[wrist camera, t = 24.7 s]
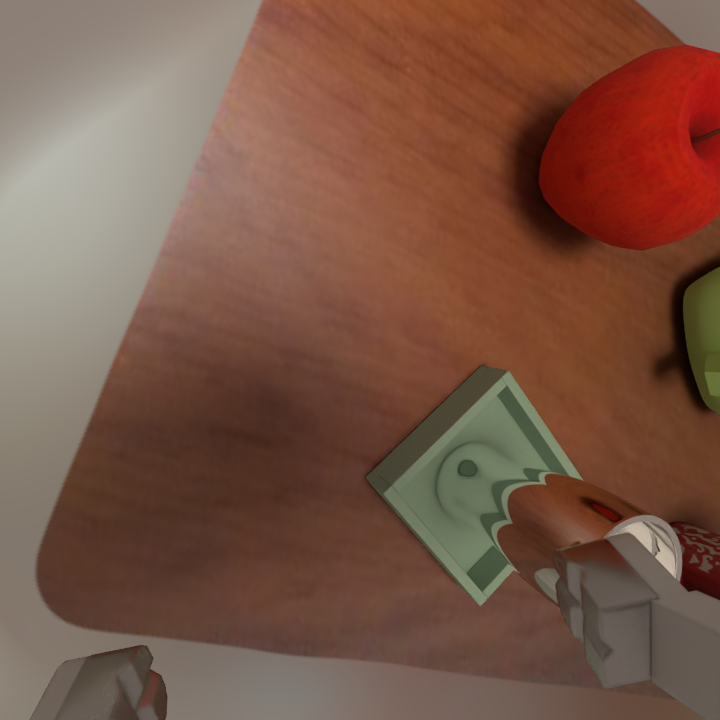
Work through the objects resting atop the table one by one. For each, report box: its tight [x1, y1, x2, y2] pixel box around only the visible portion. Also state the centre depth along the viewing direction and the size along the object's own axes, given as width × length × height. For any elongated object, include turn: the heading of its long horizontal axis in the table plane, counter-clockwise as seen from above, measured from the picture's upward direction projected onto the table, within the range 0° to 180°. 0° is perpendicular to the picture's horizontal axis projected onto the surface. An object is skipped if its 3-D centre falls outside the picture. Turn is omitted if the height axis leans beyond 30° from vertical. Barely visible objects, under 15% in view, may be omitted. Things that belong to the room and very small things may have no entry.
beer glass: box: [436, 442, 682, 608], centre depth 32 cm, size 7×7×15 cm
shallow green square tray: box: [365, 365, 583, 606], centre depth 38 cm, size 13×13×4 cm
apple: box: [539, 45, 720, 250], centre depth 34 cm, size 12×12×13 cm
